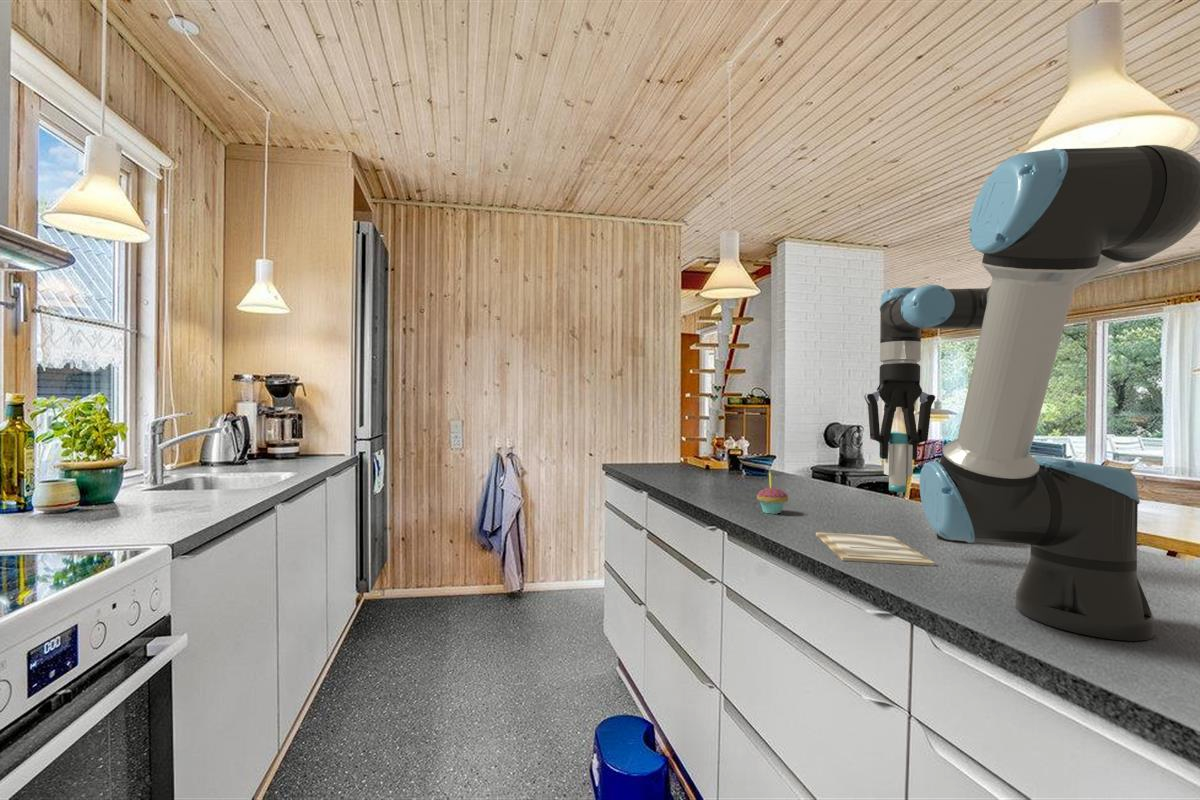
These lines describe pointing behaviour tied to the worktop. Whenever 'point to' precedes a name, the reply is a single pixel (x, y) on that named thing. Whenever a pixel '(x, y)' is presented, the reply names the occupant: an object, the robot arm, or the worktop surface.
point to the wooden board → (872, 549)
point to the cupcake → (772, 498)
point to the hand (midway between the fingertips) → (897, 474)
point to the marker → (899, 462)
